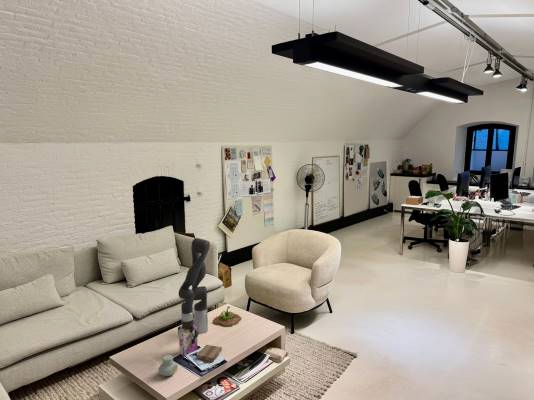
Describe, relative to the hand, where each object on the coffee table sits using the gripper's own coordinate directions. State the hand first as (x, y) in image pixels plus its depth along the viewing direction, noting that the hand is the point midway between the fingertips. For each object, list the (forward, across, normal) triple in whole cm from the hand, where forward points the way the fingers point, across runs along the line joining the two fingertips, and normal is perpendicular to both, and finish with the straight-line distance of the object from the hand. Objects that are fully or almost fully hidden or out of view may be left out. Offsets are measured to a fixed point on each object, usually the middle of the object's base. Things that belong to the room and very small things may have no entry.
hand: (188, 342), depth 244 cm
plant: (+7, +7, +47) cm, 48 cm away
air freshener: (+7, 0, -24) cm, 25 cm away
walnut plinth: (+6, +15, 0) cm, 16 cm away
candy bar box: (+7, 0, 0) cm, 7 cm away
